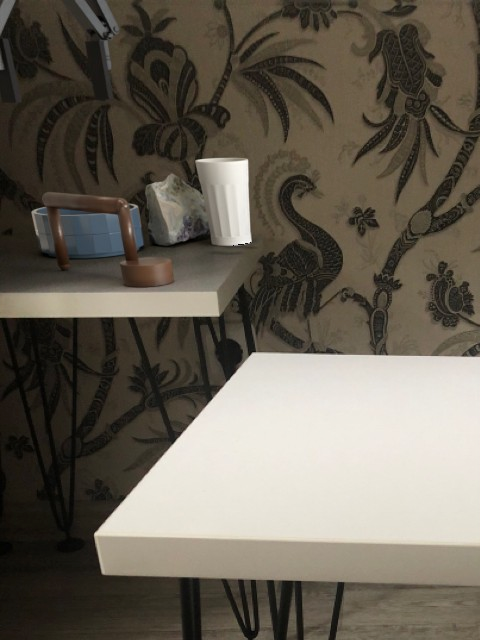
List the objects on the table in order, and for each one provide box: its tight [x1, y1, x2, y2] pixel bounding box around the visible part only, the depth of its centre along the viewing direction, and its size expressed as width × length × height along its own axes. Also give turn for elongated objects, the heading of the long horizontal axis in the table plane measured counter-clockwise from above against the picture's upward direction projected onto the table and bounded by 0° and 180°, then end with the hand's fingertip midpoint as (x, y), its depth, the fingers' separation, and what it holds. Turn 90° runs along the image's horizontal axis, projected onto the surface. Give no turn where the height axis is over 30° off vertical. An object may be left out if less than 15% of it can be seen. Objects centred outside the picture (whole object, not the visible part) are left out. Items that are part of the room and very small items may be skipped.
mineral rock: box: [144, 172, 210, 247], centre depth 147 cm, size 13×11×10 cm
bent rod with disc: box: [41, 191, 175, 288], centre depth 120 cm, size 21×6×10 cm, turn 57°
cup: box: [194, 157, 253, 247], centre depth 144 cm, size 8×8×12 cm
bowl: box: [31, 203, 145, 259], centre depth 140 cm, size 15×15×6 cm
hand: (60, 101), depth 114 cm, fingers open, 13 cm apart
